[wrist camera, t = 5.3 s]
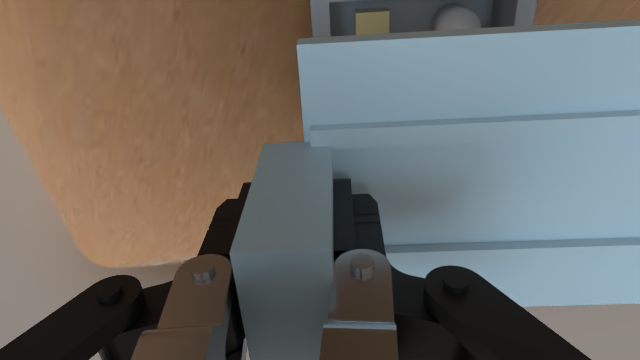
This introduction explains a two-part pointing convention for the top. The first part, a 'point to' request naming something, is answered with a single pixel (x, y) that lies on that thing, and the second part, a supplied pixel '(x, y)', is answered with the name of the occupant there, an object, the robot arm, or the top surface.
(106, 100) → the top surface
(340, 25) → the grey shallow tray
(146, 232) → the top surface
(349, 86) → the lid
